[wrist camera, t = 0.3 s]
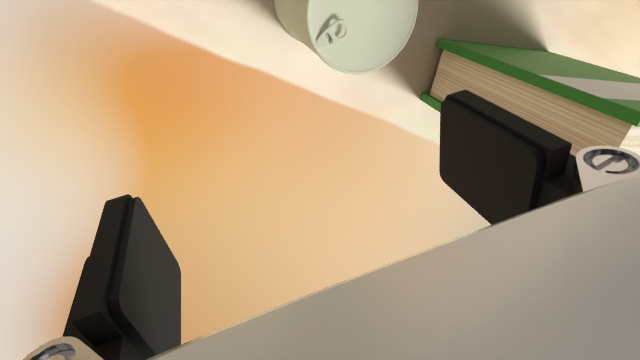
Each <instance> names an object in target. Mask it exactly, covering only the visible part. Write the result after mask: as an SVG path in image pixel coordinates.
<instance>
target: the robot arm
mask: <svg viewBox="0 0 640 360" xmlns="http://www.w3.org/2000/svg"><path fill="white" fill-rule="evenodd" d="M571 147H572V143H570V142H568V141H566V140H564V139H562V138H560V137H558V136H556V135H554V134H552V133H550V132H548V131H547V130H545V129H543V128H541V127H539V126H537V125H535V124H533V123H531V122H529V121H527V120H525V119H523V118H521V117H519V116H517V115H515V114H513V113H511V112H509V111H507V110H505V109H503V108H501V107H499V106H497V105H495V104H493V103H491V102H489V101H488V100H486V99H484V98H482V97H480V96H478V95H476V94H474V93H472V92H470V91H468V90H461V91H458V92H455V93H452V94H449V95H447V96H446V97H445V100H444V101H443V102H442V103H441V114H440V176H441V178H442V180H443V181H444V182H445V183H446V184H447V185H448V186H449V187H450V188H451V189H452V190H454V191H455V192H456V193H457V194H458V195H459V196H460V197H461V198H462V199H464V200H465V201H466V202H467V203H468V204H469V205H470V206H471V207H472V208H474V209H475V210H476V211H477V212H478V213H479V214H480V215H481V216H482V217H484V218H485V219H486V220H487V221H488V222H489V223H490V224H491V225H490V226H488V227H485V228H483V229H480V230H477V231H474V232H472V233H469V234H466V235H464V236H461V237H458V238H456V239H453V240H451V241H448V242H445V243H442V244H440V245H437V246H434V247H432V248H429V249H427V250H424V251H421V252H419V253H416V254H413V255H411V256H408V257H405V258H403V259H400V260H398V261H395V262H392V263H390V264H387V265H384V266H382V267H379V268H377V269H374V270H372V271H369V272H366V273H363V274H361V275H359V276H356V277H353V278H350V279H348V280H345V281H343V282H340V283H337V284H335V285H332V286H330V287H327V288H324V289H322V290H319V291H317V292H314V293H311V294H309V295H306V296H304V297H301V298H299V299H296V300H293V301H291V302H288V303H286V304H283V305H280V306H278V307H275V308H273V309H270V310H268V311H265V312H263V313H260V314H257V315H255V316H252V317H249V318H247V319H244V320H242V321H239V322H237V323H234V324H231V325H229V326H226V327H224V328H221V329H219V330H216V331H214V332H211V333H208V334H206V335H204V336H201V337H198V338H196V339H194V340H191V341H189V342H187V343H184V344H182V345H181V272H180V267H179V265H178V262H177V260H176V259H175V257H174V255H173V254H172V252H171V250H170V248H169V247H168V245H167V243H166V242H165V240H164V238H163V236H162V235H161V233H160V231H159V229H158V228H157V226H156V224H155V223H154V221H153V219H152V217H151V216H150V214H149V212H148V211H147V209H146V207H145V205H144V204H143V202H142V201H141V199H140V198H139V197H135V198H132V197H131V196H130V195H124V196H121V197H118V198H115V199H112V200H108V201H106V203H105V206H104V209H103V212H102V216H101V219H100V223H99V226H98V230H97V233H96V237H95V240H94V243H93V247H92V250H91V254H90V256H89V257H88V258H87V259H86V261H85V264H84V267H83V270H82V274H81V277H80V281H79V284H78V287H77V290H76V294H75V297H74V300H73V303H72V307H71V310H70V313H69V317H68V320H67V324H66V327H65V330H64V333H63V337H60V338H57V339H53V340H51V341H49V342H47V343H45V344H43V345H41V346H39V347H38V348H37V349H35V350H34V351H33V352H31V353H30V354H29V355H27V356H26V357H25V358H24V359H23V360H640V155H638V154H637V153H634V152H632V151H630V150H627V149H623V148H619V147H614V146H592V147H587V148H584V149H582V150H580V151H579V152H578V153H577V154H576V157H575V156H573V155H571V154H570V151H571Z"/></svg>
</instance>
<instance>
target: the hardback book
mask: <svg viewBox="0 0 640 360" xmlns="http://www.w3.org/2000/svg"><path fill="white" fill-rule="evenodd" d="M436 47H438V48H440V49H443V52H442V55H441V58H440V62H439V65H438V68H437V72H436V75H435V78H434V82H433V85H432V88H431V92H430V93H424V92H422V95H421V99H420V100H422V101H423V102H425V103H426V104H428V105H429V106H431V107H433V108H434V109H436V110H437V111H439V112H440V113H441V103H442V102H443V101H444V100H445V97H446V96H447V95H449V94H452V93H455V92H458V91H461V90H468V91H470V92H472V93H474V94H476V95H478V96H480V97H482V98H484V99H486V100H488V101H489V102H491V103H493V104H495V105H497V106H499V107H501V108H503V109H505V110H507V111H509V112H511V113H513V114H515V115H517V116H519V117H521V118H523V119H525V120H527V121H529V122H531V123H533V124H535V125H537V126H539V127H541V128H543V129H545V130H547V131H548V132H550V133H552V134H554V135H556V136H558V137H560V138H562V139H564V140H566V141H568V142H570V143H572V147H571V151H570V154H571V155H573V156H575V157H576V154H577V153H578V152H579V151H580V150H582V149H584V148H587V147H592V146H614V147H619V148H623V149H627V150H630V151H632V152H634V153H637V154H638V155H640V78H638V77H635V76H631V75H628V74H624V73H621V72H617V71H614V70H610V69H607V68H603V67H600V66H597V65H593V64H590V63H586V62H583V61H579V60H576V59H572V58H569V57H565V56H562V55H559V54H555V53H552V52H548V51H539V50H531V49H522V48H514V47H506V46H497V45H489V44H481V43H472V42H464V41H456V40H447V39H439V38H438V40H437V44H436Z"/></svg>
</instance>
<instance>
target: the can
mask: <svg viewBox="0 0 640 360" xmlns="http://www.w3.org/2000/svg"><path fill="white" fill-rule="evenodd" d="M274 7H275V11H276V14H277V17H278V19H279V21H280V23H281V24H282V26H283V27H284V29H285V30H286V31H287V32H288V33H289V34H290V35H291V36H292V37H294V38H295V39H296V40H298V41H300V42H303V43H304V44H305V45H306V46H308V47H309V48H310V49H311V50H313V51H314V52H315V53H316V54H317V55H318V56H319V57H320V58H321V59H322V60H323V61H324V62H325V63H326V64H327V65H329V66H330V67H332V68H333V69H336V70H338V71H340V72H343V73H347V74H365V73H369V72H372V71H375V70H377V69H379V68H381V67H383V66H385V65H386V64H388V63H389V62H390V61H391V60H393V59H394V58H395V57H396V56H397V55H398V54H399V52H400V51H401V50H402V49H403V47H404V46H405V44H406V43H407V41H408V39H409V38H410V35H411V33H412V31H413V28H414V25H415V22H416V18H417V13H418V0H274Z"/></svg>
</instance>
